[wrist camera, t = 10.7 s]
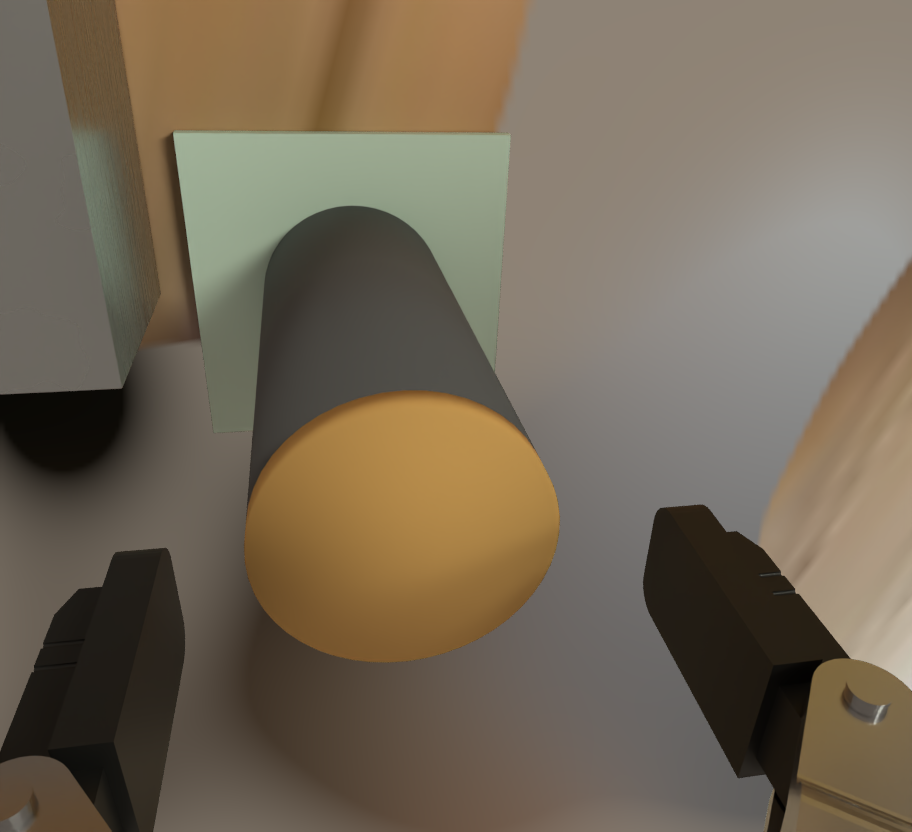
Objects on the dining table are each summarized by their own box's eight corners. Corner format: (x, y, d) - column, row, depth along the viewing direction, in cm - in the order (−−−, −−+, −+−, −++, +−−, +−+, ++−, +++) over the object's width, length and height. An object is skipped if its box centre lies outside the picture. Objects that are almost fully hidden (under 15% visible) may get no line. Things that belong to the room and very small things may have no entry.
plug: (442, 204, 22) (576, 399, 12) (438, 368, 25) (544, 644, 14) (256, 206, 21) (226, 420, 11) (271, 376, 24) (259, 678, 14)
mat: (507, 132, 22) (510, 135, 22) (489, 410, 26) (491, 416, 26) (175, 130, 20) (173, 132, 20) (214, 426, 25) (213, 433, 24)
